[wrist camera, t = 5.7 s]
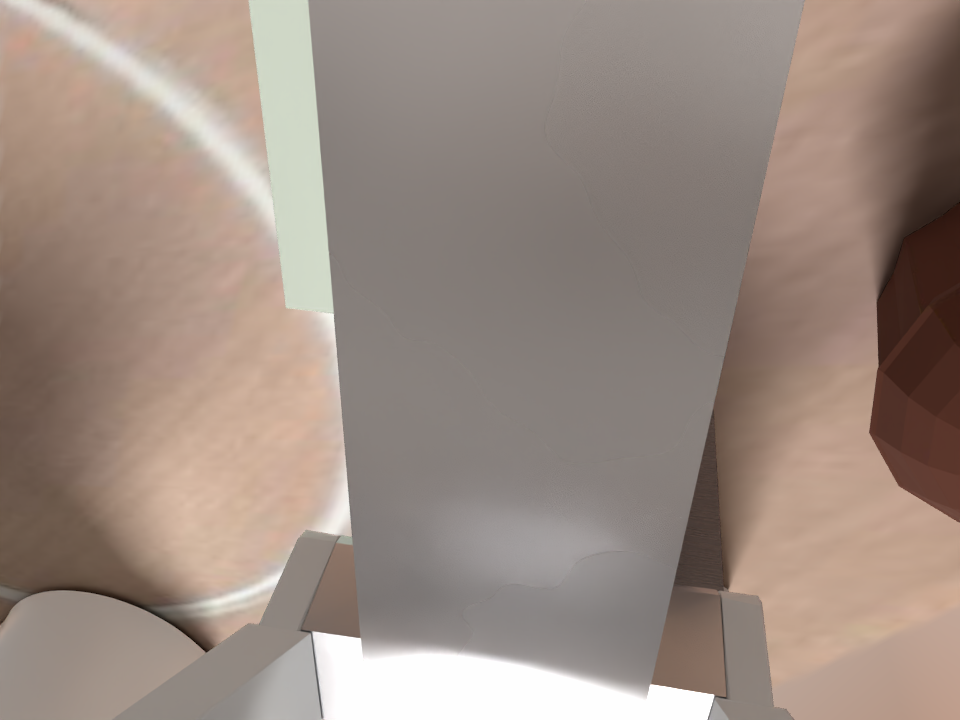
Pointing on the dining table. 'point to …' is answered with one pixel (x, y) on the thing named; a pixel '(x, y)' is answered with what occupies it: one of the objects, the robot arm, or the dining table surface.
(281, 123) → the mat
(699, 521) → the rack
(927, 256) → the muffin
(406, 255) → the rail
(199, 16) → the dining table surface
